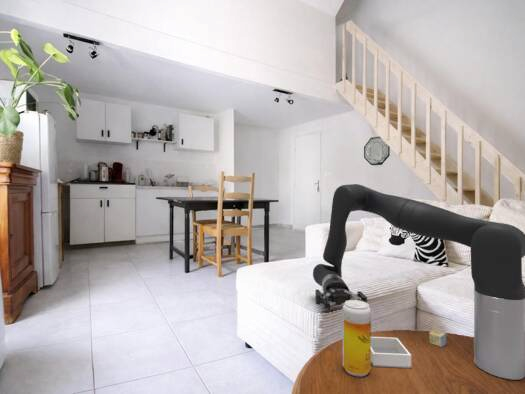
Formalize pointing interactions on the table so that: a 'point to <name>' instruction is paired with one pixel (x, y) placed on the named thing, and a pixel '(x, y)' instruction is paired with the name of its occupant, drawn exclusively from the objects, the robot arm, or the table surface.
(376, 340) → the white square tray
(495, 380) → the table surface
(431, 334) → the alphabet block
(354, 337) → the beer can
